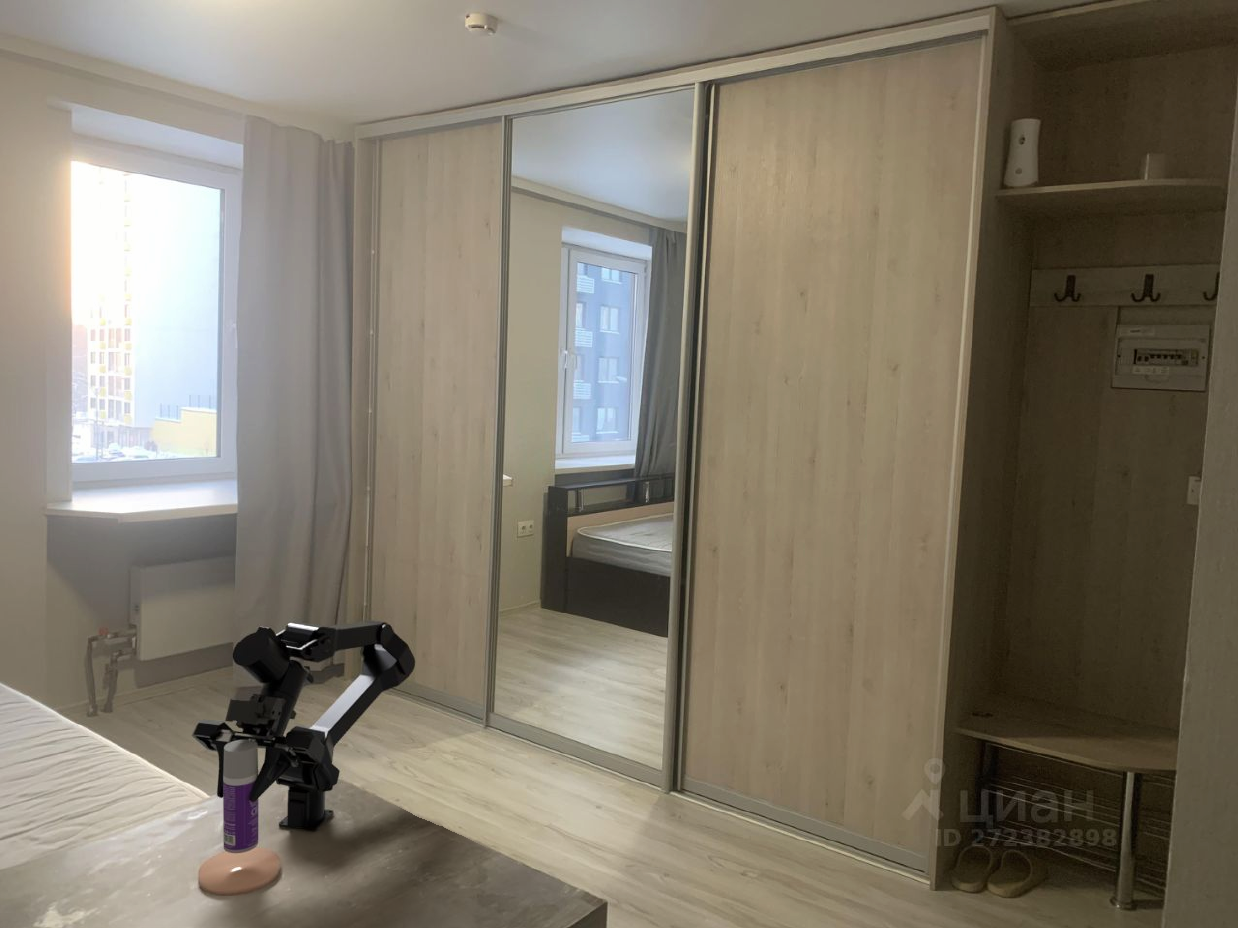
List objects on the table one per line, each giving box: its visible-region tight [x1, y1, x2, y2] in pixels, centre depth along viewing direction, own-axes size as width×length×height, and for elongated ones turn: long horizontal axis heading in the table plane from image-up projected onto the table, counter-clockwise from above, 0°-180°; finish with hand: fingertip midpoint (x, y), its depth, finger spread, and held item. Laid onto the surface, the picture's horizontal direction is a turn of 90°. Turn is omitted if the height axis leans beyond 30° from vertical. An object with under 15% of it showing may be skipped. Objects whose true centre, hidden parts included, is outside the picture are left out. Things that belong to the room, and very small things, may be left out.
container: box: [222, 739, 259, 853], centre depth 131 cm, size 5×5×15 cm
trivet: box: [197, 846, 281, 896], centre depth 132 cm, size 11×11×1 cm
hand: (235, 798), depth 129 cm, fingers closed on container, 5 cm apart
